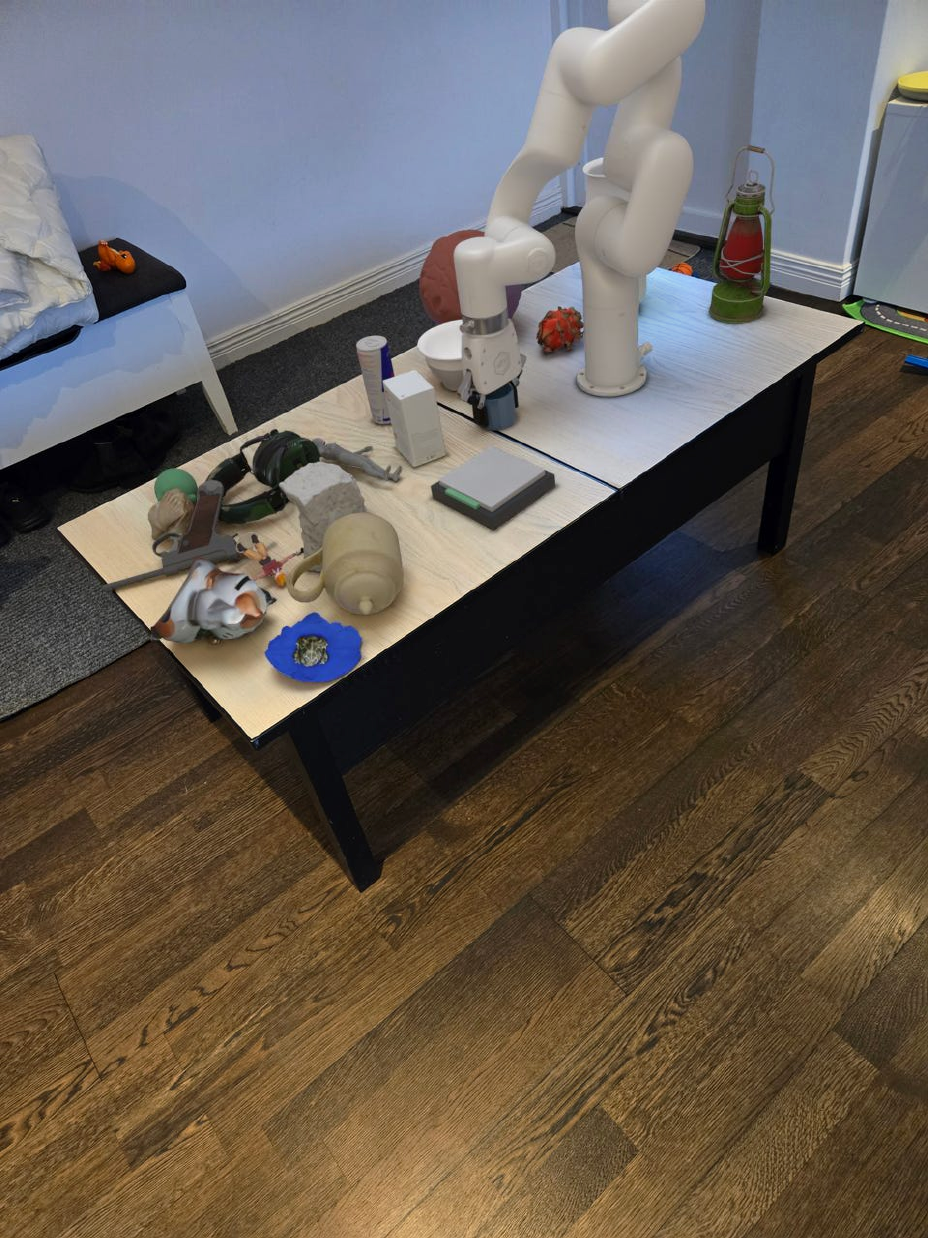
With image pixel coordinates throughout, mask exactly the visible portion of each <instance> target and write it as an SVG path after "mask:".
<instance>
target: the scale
mask: <svg viewBox="0 0 928 1238" xmlns="http://www.w3.org/2000/svg"><path fill="white" fill-rule="evenodd" d="M554 488H556V478H555V473H553V472H551V471H549V470H546V469H544V468H543V467H540V466H538V465H535V464H533V463H531V462H528V461H527V460H524V459H522V458H520V457H518V456H515V455H513V454H511V453H509V452H506V451H504V450H503V449H501V448H500V449H499V448H497V447H495V446H494V445H490V446H489V447H487V448H485V449H484V450H482V451H480V452H479V453H478V454H477V455H474V456H473V457H472V458H470V459H468V460H467V461H465V462H464V463H463V464H461V465H460V466H458V467H456V468H455V469H453V470H452V471H450V472H449V473H447V474H445V475H444V476H442V477H441V478H439V479H438V481H436V482H435V483H434V484H432V485H430V491H431V495H432V498H433V499H434V500H436V501H437V502H440V503H442V504H443V505H445V506H447V507H449V508H451V509H453V510H455V511H456V512H458V513H460V514H462V515H464V516H466V517H468V518H469V519H471V520H473V521H474V522H477V523H479V524H480V525H483V526H484V527H487V528H489V530H490V529H491V530H492V531H495V530H496V529H498V528H499V527H501V526H502V525H503V524H505V523H506V522H507V521H509V520H510V519H511V518H513V517H514V516H516V515H517V514H519V513H520V512H522V511H523V510H525V509H526V508H527V507H528V506H530V505H532V503H534V502H536V501H537V500H538V499H540V498H541V497H542V496H544V495H546V494H547V493H548V492H549V491H551V490H552V489H554Z"/></svg>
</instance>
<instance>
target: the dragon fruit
mask: <svg viewBox="0 0 928 1238" xmlns="http://www.w3.org/2000/svg"><path fill="white" fill-rule="evenodd" d="M582 320H583V315H582V314H581V312H580V311H578V310H576V308H575V307H574V306H570V307H568V308H566V307H563V308H562V306H560V305H558V306H557V309H556V310H547V312H546V314H545V316H544V317H543V318H542V319H541V321H540V322H538V325H537V326H538V327H537V328H538V329H537V333H536V336H535V340H537V341H536V342H537V344H538V345H539V346H540V347H541V348H542V347H545V348H544V349H543V353H544V354H547V353H552V354H553V353H555V352H557V351H558V350H559V349H564V350H565V351H566V352H569V351H570V350H571V349H572V348H573V347H574V342H575V340H577V341H579V340H582V339H584V325H583V321H582ZM581 329H583V330H582V331H581Z"/></svg>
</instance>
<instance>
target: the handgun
mask: <svg viewBox="0 0 928 1238" xmlns="http://www.w3.org/2000/svg"><path fill="white" fill-rule="evenodd" d="M223 495H224V488H223V485H222V483H221V482H219V481H216V480H208V481H206V482H205V481H204V482H202V483H201V484H200V485H199V486H198V490H197V501H196V504H195V510H194V514H193V517H192V521H191V524H190V527H189V530H188V532H187V534H186V535H179V534H177V533H166V534H164V535H163V536H161V537H160V538H158V539H157V540H153V543H152V544H151V550H152V552H153V553H154V555H155V556H157V557H160V558H161V559H160V561H161V565H162V567H161V568H158V569H154V570H151V571H148V572H144V573H141V574H137V575H134V576H130V577H127V578H124V579H120V580H116V581H112V582H109V583H107V584H103V585H101V589H102V591H103V592H104V593H106V594H108V595H110V596H112V594H113V592H115V590H117V589H120V588H123V587H127V586H130V585H135V584H138V583H141V582H144V581H148V580H151V579H155V578H158V577H161V576H166V577H170V576H171V577H172V576H175V575H179V573H181V572H184V571H188V570H190V568H191V565H192V562H193V560H194V559H195V558H199V557H201V558H205V559H207V560H209V561H210V562H212V563H213V564H215V563H219V562H223V561H226V560H229V562H230V563H232V562H240V560H241V557H242V556H245V555H244V553H245V552H244V553H239V552H237V551H236V544H237V542H236V540H235V539H234V538H236V537H238V536H239V534H238V533H237V532H236V533H235V534H234V533H233V535H231V534H218V533H217V525H218V521H219V520H218V517H219V512H220V508H221V504H223V501H224V498H223ZM222 500H223V501H222ZM175 536H176V537H179V538H180V539H181V541H178V540H177V539H176V538H175ZM168 538H172V539H173V540H174V541H173V545H172V547H171V548H170V550H169V551H166V550H165V551H161V552H157V548H158V546H159V545H160V544H162V543H164V542H165V541H167V539H168ZM179 542H180V543H179Z"/></svg>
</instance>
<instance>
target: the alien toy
mask: <svg viewBox="0 0 928 1238" xmlns="http://www.w3.org/2000/svg"><path fill="white" fill-rule="evenodd" d="M177 488H178V489H180V490H182V491H183V493H185V494H186V495H187V496H188V499H189V500H190V501H191V502H192V503H193V504H195V503H197V500H198V497H197V490H198V488H199V486H198V484H197V480H196V479H195V478H194V476H193V475H192V474H190V473H189V472H188V471H186V470H184V469H183V468H182V469H181V468H169V469H166V470H164V471H162V472H161V473H160V474H159V475H158V476H157V477H156V480H155V481H154V487H153V489H154V491H153V492H154V495H155V499H156V500H157V502H159V501H161V499H162V497H163V495H164V494H165V493H166V492H167V491H170V490H171V489H177Z"/></svg>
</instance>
